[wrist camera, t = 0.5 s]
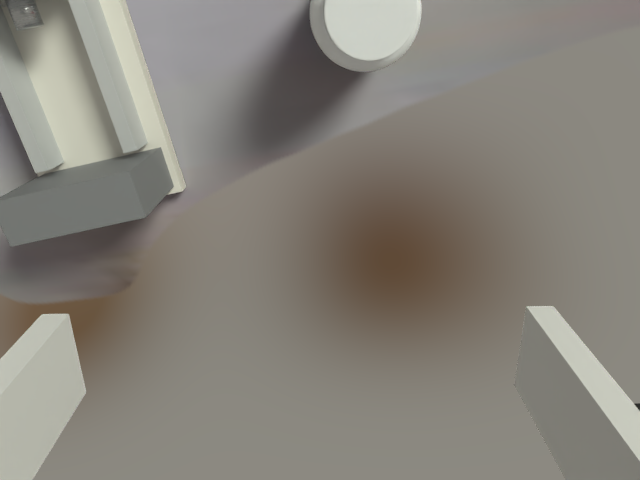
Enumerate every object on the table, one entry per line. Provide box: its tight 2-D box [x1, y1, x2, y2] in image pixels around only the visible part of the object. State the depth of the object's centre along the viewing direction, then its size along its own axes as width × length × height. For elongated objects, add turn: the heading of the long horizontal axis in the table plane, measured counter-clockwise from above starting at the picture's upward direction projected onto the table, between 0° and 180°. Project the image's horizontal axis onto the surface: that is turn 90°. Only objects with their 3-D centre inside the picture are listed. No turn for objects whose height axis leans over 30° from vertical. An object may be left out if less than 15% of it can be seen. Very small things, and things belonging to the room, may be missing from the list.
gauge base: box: [0, 0, 186, 247], centre depth 33 cm, size 24×10×8 cm, turn 13°
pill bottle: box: [310, 0, 421, 72], centre depth 31 cm, size 6×6×11 cm
